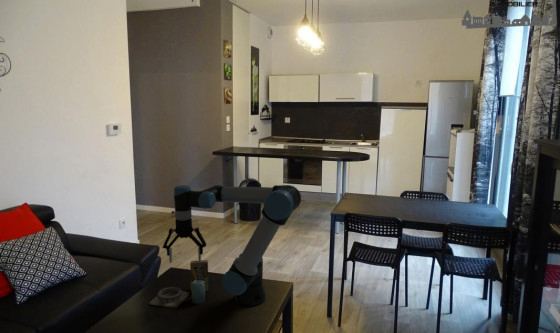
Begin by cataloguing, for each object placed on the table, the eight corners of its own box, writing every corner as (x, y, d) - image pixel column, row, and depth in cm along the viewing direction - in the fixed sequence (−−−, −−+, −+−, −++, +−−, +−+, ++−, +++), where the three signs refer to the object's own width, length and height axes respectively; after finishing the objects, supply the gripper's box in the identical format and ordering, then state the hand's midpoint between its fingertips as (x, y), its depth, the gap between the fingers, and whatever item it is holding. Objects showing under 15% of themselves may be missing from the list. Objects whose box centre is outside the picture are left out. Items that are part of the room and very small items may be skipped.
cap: (207, 298, 186) (207, 279, 185) (202, 304, 180) (201, 285, 178) (195, 296, 187) (194, 278, 186) (189, 303, 181) (189, 284, 180)
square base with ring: (189, 294, 190) (189, 287, 189) (176, 308, 176) (176, 301, 176) (164, 290, 193) (163, 284, 192) (149, 304, 179) (149, 297, 178)
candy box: (208, 287, 197) (207, 259, 195) (208, 291, 193) (208, 262, 191) (190, 288, 196) (190, 260, 193) (190, 292, 191) (190, 263, 189)
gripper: (211, 215, 182) (212, 257, 185) (158, 216, 180) (160, 259, 183) (209, 219, 174) (210, 263, 177) (154, 221, 173) (156, 265, 176)
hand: (185, 261), depth 180 cm, fingers open, 13 cm apart
